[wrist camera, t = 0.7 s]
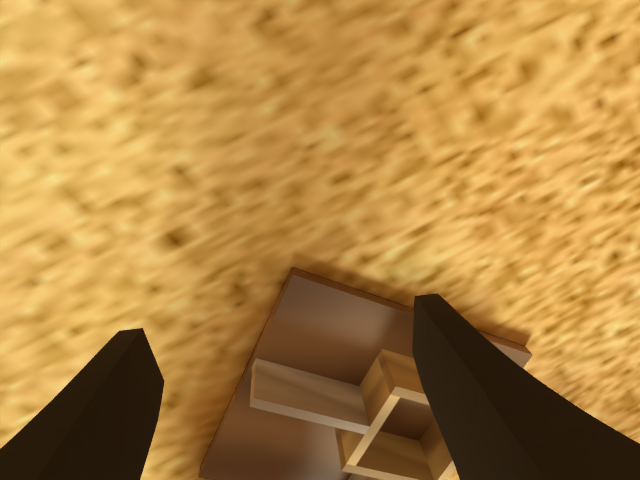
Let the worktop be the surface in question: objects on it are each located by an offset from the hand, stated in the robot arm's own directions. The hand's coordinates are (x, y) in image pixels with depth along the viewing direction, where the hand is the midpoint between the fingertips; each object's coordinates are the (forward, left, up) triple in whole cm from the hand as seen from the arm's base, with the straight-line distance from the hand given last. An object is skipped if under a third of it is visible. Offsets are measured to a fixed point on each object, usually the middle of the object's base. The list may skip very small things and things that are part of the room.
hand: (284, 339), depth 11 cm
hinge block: (-11, -10, -11) cm, 18 cm away
